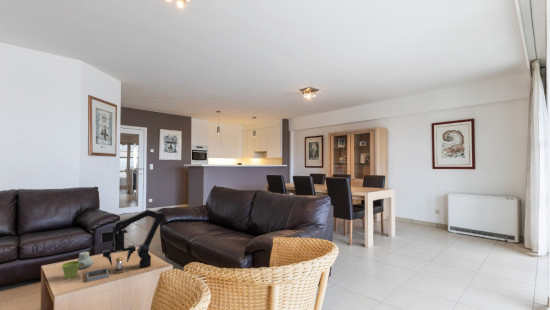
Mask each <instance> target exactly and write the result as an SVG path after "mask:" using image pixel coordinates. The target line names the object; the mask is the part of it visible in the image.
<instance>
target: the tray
mask: <svg viewBox="0 0 550 310" xmlns="http://www.w3.org/2000/svg"><path fill="white" fill-rule="evenodd" d="M108 270H109V269H108V267H107V268H101V269H96V270H91V271H87V272H86V283H90V282H93V281H94V282H95V281H98V280H103V279H107V278H109V275H110V274H109V273H110V272H109V271H108ZM104 273H105V274H104Z"/></svg>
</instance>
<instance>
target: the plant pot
mask: <svg viewBox="0 0 550 310" xmlns="http://www.w3.org/2000/svg"><path fill="white" fill-rule="evenodd" d="M79 263H80V261H77V260H71V261H68V262H65V263H63V264H61V267H62V269H63V275H64V276H63V277H64V279H66V280H70V279H71V280H72V279H74V278H76V277H77V276H78V271H79V268H78V266H79Z"/></svg>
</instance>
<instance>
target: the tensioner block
mask: <svg viewBox="0 0 550 310" xmlns="http://www.w3.org/2000/svg"><path fill="white" fill-rule="evenodd" d="M128 272H129V270H128V267H127V266H124V267H123V266H122V271H118V272H117V266H116V267H115V268H114V269H109V273H110V274H109V275H110V276H111V277H112V276H116V275H120V274H126V273H128Z"/></svg>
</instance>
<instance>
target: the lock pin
mask: <svg viewBox="0 0 550 310" xmlns="http://www.w3.org/2000/svg"><path fill="white" fill-rule="evenodd" d="M123 258H124V257H122V256H121V257H117V258H115V261H116V267H117V272H118V271H122V267H123Z"/></svg>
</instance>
